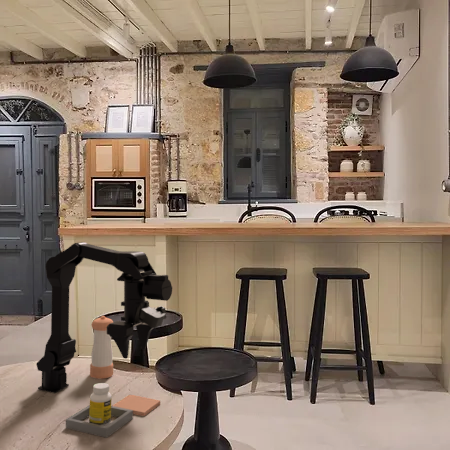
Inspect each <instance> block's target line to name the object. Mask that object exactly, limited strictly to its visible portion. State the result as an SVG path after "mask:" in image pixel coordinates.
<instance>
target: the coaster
mask: <svg viewBox="0 0 450 450" xmlns="http://www.w3.org/2000/svg"><path fill="white" fill-rule="evenodd" d="M160 405H161V400H159V399H154V398H149V397H144V396H141V395H140V396H139V395H133V394H128V395H127V396H125V397H123V398H122V399H121V400H119V401H117V402H116V403H114V404H113V405H112V406H115V407H120V408H125V409H129V410H133V415H135V416H136V415H137V416H140V417H141V416H142V417H145V416H147V415H148V414H149V413H151V412H152V411H153V410H154V409H156V408H157V407H158V406H160Z"/></svg>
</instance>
